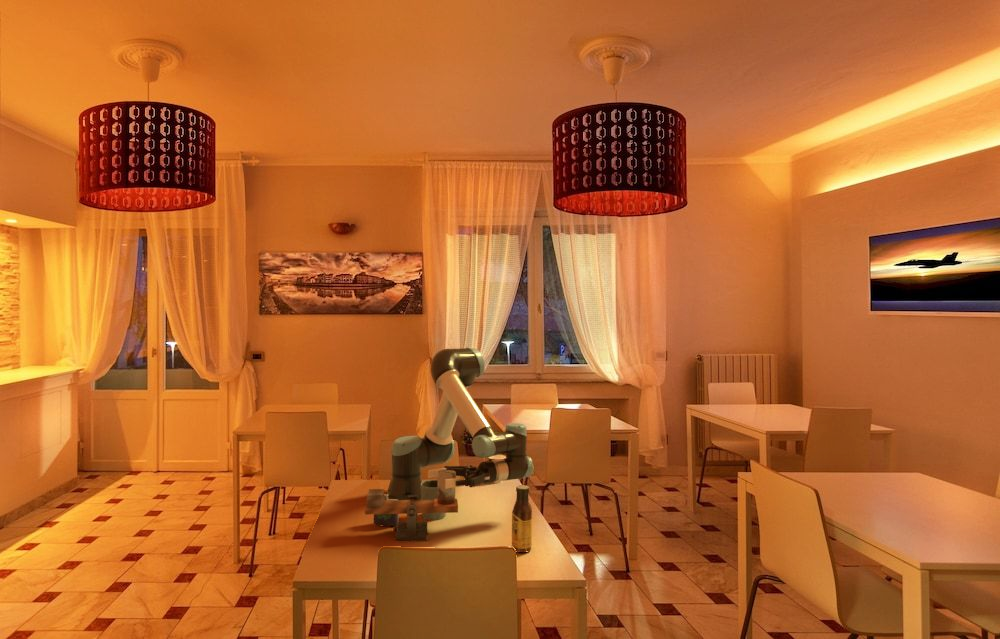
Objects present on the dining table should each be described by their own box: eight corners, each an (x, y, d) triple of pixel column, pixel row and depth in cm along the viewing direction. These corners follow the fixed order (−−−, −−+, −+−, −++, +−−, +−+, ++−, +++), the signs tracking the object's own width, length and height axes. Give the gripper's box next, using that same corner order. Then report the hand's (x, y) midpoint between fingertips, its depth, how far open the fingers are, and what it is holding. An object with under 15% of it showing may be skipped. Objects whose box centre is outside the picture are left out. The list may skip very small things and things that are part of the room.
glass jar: (433, 502, 200) (434, 472, 200) (444, 498, 205) (444, 469, 205) (448, 505, 197) (448, 475, 197) (458, 501, 202) (459, 471, 202)
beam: (364, 515, 194) (365, 496, 194) (367, 507, 202) (368, 488, 202) (457, 513, 197) (458, 494, 197) (456, 505, 205) (457, 487, 205)
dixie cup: (491, 484, 259) (492, 459, 259) (484, 480, 266) (484, 455, 266) (508, 482, 262) (508, 457, 262) (500, 478, 269) (501, 453, 269)
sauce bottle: (510, 546, 189) (511, 483, 189) (530, 546, 189) (530, 483, 189) (512, 554, 182) (513, 489, 182) (533, 554, 183) (533, 489, 183)
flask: (399, 525, 208) (399, 494, 208) (396, 527, 205) (396, 496, 205) (375, 522, 210) (375, 491, 210) (371, 525, 207) (371, 494, 207)
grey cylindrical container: (436, 510, 224) (436, 478, 224) (454, 516, 217) (454, 483, 217) (414, 516, 217) (414, 483, 217) (431, 523, 210) (432, 488, 210)
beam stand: (395, 541, 192) (395, 507, 192) (398, 526, 206) (398, 494, 206) (426, 540, 193) (427, 506, 193) (427, 525, 207) (427, 494, 207)
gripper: (511, 491, 199) (453, 500, 188) (475, 474, 221) (422, 481, 210) (511, 468, 199) (453, 476, 188) (475, 453, 221) (422, 460, 210)
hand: (436, 479), depth 199 cm, fingers open, 13 cm apart
